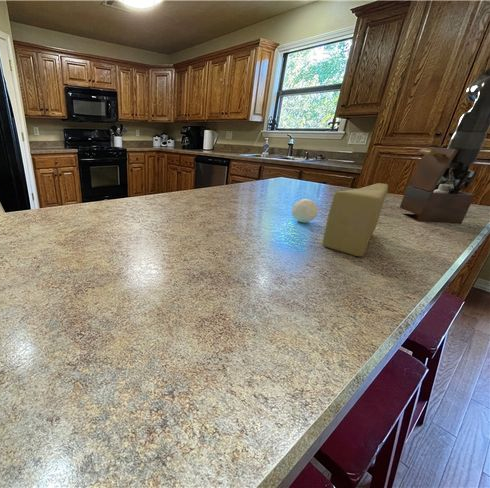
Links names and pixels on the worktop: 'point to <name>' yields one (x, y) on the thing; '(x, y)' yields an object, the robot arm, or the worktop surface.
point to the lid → (431, 167)
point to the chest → (436, 205)
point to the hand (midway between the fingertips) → (442, 198)
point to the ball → (305, 210)
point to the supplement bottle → (443, 188)
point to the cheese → (354, 218)
